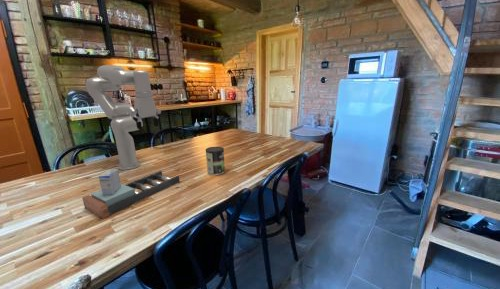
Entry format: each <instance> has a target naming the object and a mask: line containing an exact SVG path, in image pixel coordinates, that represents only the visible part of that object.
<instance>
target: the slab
mask: <svg viewBox="0 0 500 289" xmlns="http://www.w3.org/2000/svg"><path fill="white" fill-rule="evenodd" d="M135 191H136V190H135V188H131V187H129V186H126V184H123V183H121V187H120V188H119V189H118V190H117V191H116V192H115V193H114V194H113V195H103V194H102V189H100V190H97V191H95V192H91V194H90V196H92V197H94V198H96V199H98V200H100V201H102V202H104V203H106V204H107V206H111V205H113V204H115V203H117V202H120V201H122V200H124V199H126V198H129V197H131V196H133V195H135Z"/></svg>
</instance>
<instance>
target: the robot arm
mask: <svg viewBox="0 0 500 289" xmlns="http://www.w3.org/2000/svg"><path fill="white" fill-rule="evenodd" d="M96 73H97V76H98V77H97V76H95V77H90V78H88V79H87V80H86V81H85V87H86V90H87V93H89V94H88V95H89V96H90V97H91V98H92V99H93V100H94V101H95V102H96V103H97V104H98V105H99V107H100V108H101V110H102V111H103V113H104V115H105V116H106V117H107V119H109V120H111V121H110V127H111V130H112V132H113V135H114V139H115V144H116V149H117V150H116V151H117V154H118V163H119V165H117V169H118V170H121V171H128V170H133V169H136V168H138V167H140V166H141V162H140V161H138V159H137V153H136V148H135V147H136V146H135V142H134V138H133V136H132V135H131V134H130V133H129V132H135V131H139V130H142V129H143V126H144V124H143V123H144V122H143V120H142V119H143V118H153V119H152V120H153V121H152V122H153V126H154V127H159V118H160V116H161V113H162V110H160V109H159V108H156V103H155V100H154V97H153V96H154V92H152V88H151V87H152V86H151V79H150V72H148V71H147V70H129V69H128V70H127V69H126V70H125V68H123V67H122V66H121V65H110V64H106V65H105V64H104V65H101V66H98V67H97V70H96ZM122 86H126V87H128V86H134V91H135V98H134V101H133V102H134V103H133V105H132V104H130V103H128V102H116V100H114V98H113V97H112V96H111V95H109V94H108V93H106V92H117V91H118V90H120V89H121V87H122Z"/></svg>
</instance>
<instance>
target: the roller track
mask: <svg viewBox="0 0 500 289" xmlns="http://www.w3.org/2000/svg"><path fill="white" fill-rule="evenodd" d="M158 180H160V181H158ZM161 181H162V182H161ZM180 181H181V180H180V176H179V175H176V176H174V177H169V176H165V175H163V171H162V170H159V171H157V172H155V173H151V174H149V175H147V176H144V177H141V178H138V179H136V180H134V181H132V182H128V183H125V185H126V186H129V187H131V188H134V189H137V188H138V189H140V190H142V191H140V192H139V191H137V190H135V195H133V196H131V197H129V198H126V199H124V200H122V201H120V202H117V203H115V204H113V205H111V206H107V204H106V203H104V202H102V201H100V200H98V199H96V198H94V197H92V196H91V194H90V195H89V194H88V195H84V196H83V197H81V199H82V201H83V206H84V209H86V210H88V211H89V212H91V213H93V214H94V215H97V217H100V218H102V219H105V218H107V217H109V216H111V215H113V214H115V213H118V212H119V211H121V210H124V209H126V208H127V207H130V206H132V205H134V204H136V203H138V202H141V201H142V200H145V199H147V198H148V197H149V198H150V196H152V195H154V194H158V193H159V192H161V191H163V190H165V189H167V188H169V187H171V186H172V187H173V185H176V184H177V183H180ZM146 184H149V185H146ZM150 185H153V186H150Z"/></svg>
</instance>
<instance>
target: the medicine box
mask: <svg viewBox="0 0 500 289" xmlns="http://www.w3.org/2000/svg"><path fill="white" fill-rule="evenodd" d="M98 180H99V184H100V188H101V189H100V190H102V194H103V195H113V194H114V193H115V192H116V191H117V190H118V189H119V188H120V187H121V184H122V183H121V178H120V172H119V169H118V168H113V169H112V168H110V169H107V170H105V171H103V173H102V174H100V175H99V176H98Z"/></svg>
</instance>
